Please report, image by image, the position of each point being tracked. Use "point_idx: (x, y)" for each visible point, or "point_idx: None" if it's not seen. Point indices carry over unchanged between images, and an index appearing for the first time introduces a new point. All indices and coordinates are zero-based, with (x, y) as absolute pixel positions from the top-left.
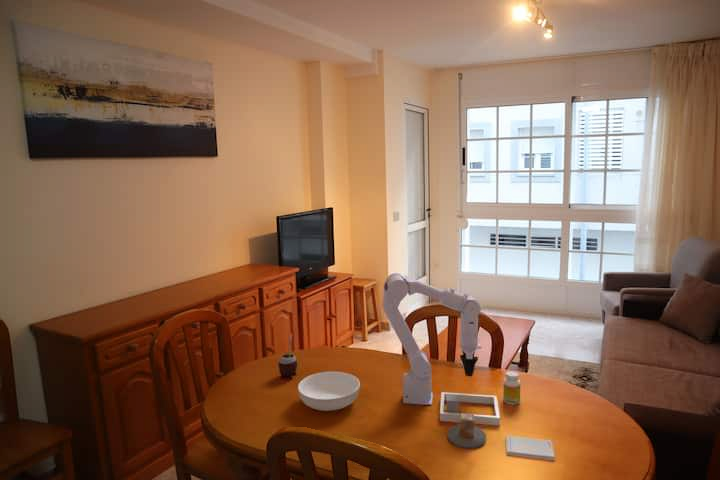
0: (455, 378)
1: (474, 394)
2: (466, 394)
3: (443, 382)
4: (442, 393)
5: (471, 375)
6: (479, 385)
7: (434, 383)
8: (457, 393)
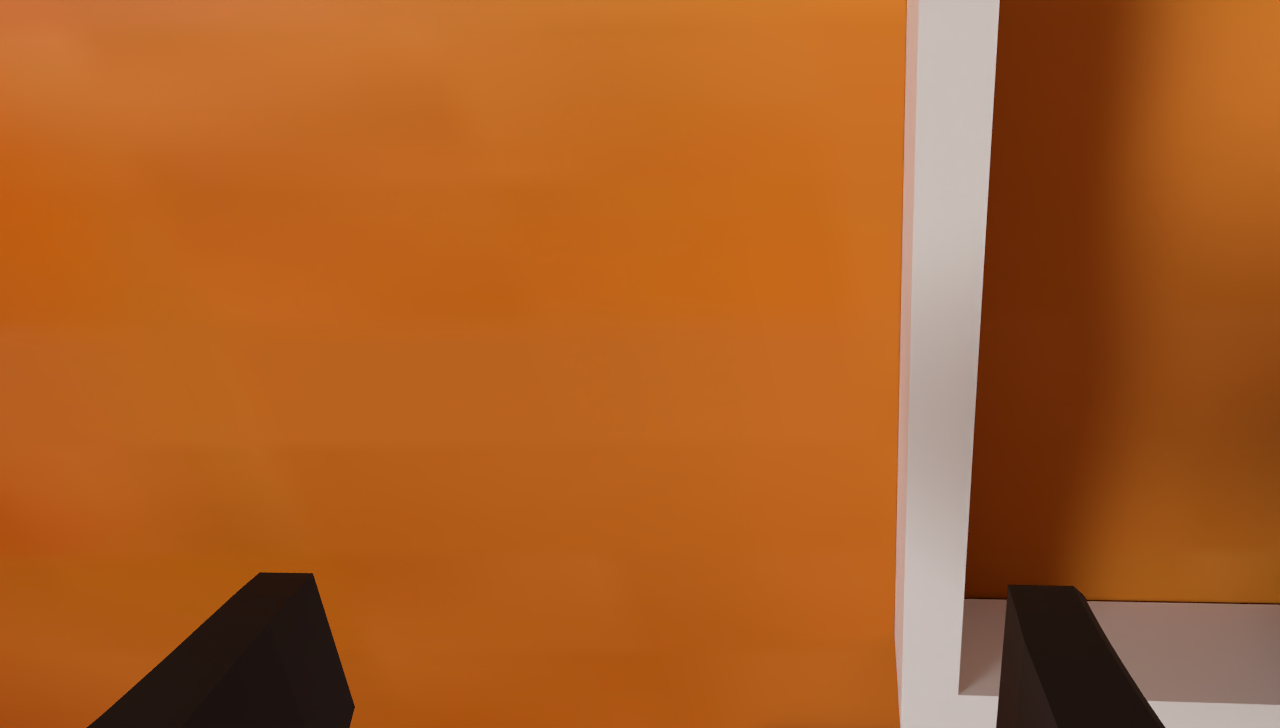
0: (82, 452)
1: (917, 194)
2: (942, 354)
3: None
4: (949, 718)
5: (1085, 622)
6: (157, 34)
7: (393, 712)
8: (916, 507)
